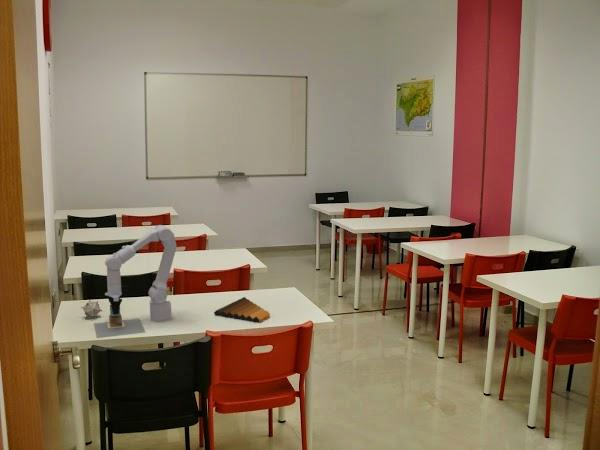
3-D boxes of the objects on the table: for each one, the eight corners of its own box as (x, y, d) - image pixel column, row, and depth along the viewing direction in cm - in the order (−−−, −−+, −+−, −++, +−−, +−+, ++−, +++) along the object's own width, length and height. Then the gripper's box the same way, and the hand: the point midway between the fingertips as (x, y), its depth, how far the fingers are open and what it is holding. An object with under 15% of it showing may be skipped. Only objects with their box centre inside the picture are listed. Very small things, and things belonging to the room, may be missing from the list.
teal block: (119, 312, 270) (119, 303, 270) (120, 315, 267) (119, 306, 266) (110, 313, 269) (109, 304, 268) (110, 316, 265) (110, 307, 264)
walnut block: (120, 322, 272) (120, 313, 271) (122, 325, 267) (121, 317, 267) (109, 323, 270) (108, 315, 269) (110, 327, 265) (110, 318, 265)
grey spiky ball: (91, 326, 280) (80, 313, 274) (85, 315, 286) (75, 303, 279) (108, 315, 283) (98, 302, 276) (102, 305, 289) (92, 292, 282)
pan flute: (241, 302, 309) (214, 316, 286) (241, 296, 308) (213, 309, 286) (284, 309, 298) (259, 324, 276) (284, 303, 297) (259, 317, 275)
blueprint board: (139, 320, 278) (139, 318, 278) (145, 334, 260) (145, 331, 260) (93, 325, 271) (93, 323, 271) (96, 339, 253) (96, 337, 252)
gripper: (103, 279, 271) (104, 309, 273) (105, 288, 257) (107, 318, 260) (119, 278, 273) (120, 307, 275) (123, 286, 260) (124, 316, 262)
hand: (115, 312), depth 268 cm, fingers closed on teal block, 4 cm apart
